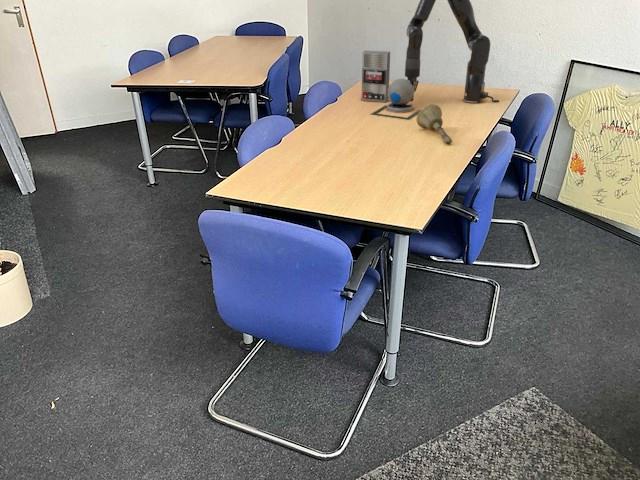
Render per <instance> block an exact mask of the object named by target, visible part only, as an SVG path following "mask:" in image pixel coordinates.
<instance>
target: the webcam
mask: <svg viewBox="0 0 640 480" xmlns="http://www.w3.org/2000/svg"><path fill="white" fill-rule="evenodd" d="M413 95H414V96H415V93H414V89H413V86H412V84H411V83H410V82H409V81H408V80H407V79H406V78H397V79H394V80H393V81H392V82H391V83H389V88H388V97H389V101H390V102H391V103H388V104H387V105H386V106H387V107H386V109H387V111H389V112H392V113H408V112H412V111H413V110H414V106H413V104H409V103H411V102H412V101H411V99H412V98H413Z"/></svg>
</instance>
